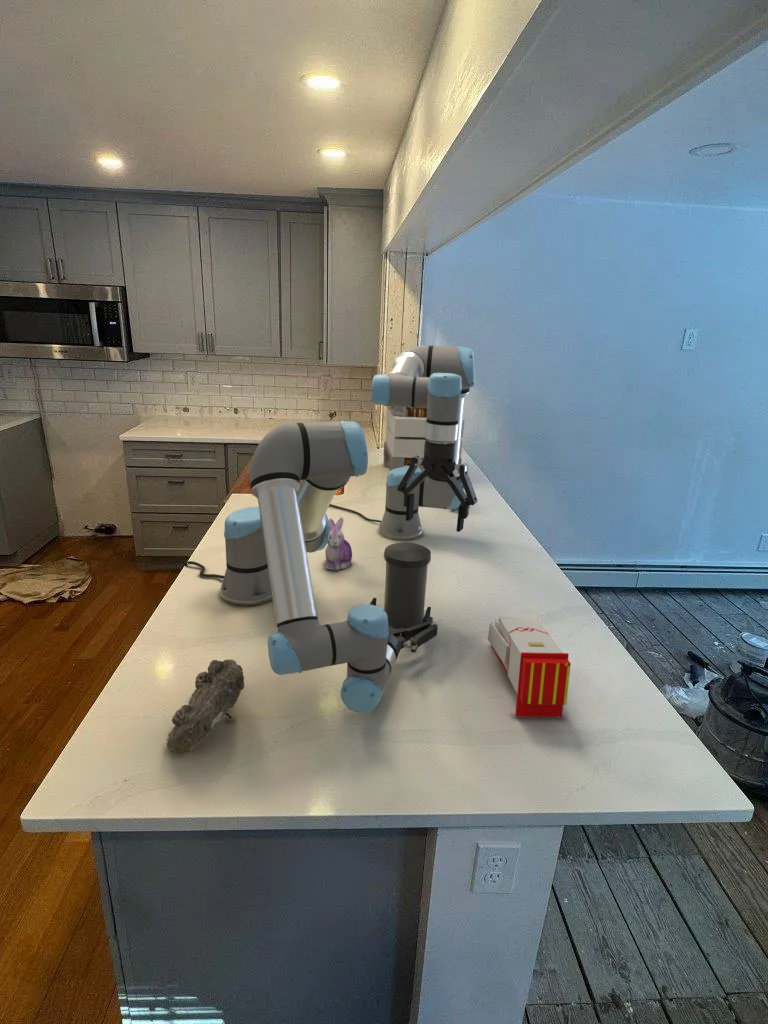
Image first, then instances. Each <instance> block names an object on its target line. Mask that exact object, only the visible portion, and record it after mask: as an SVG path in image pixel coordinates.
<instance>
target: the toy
mask: <svg viewBox="0 0 768 1024" xmlns="http://www.w3.org/2000/svg"><path fill="white" fill-rule="evenodd" d="M488 625H489V627H488V633H487V641H488V642H489V644H490V646H491V647H490V648H491V649H492V650H493V652H494V654H495V656H496V658H497V659H498V660H499V662H500V664H501V666H502V668H503V669H504V671H505V673H506V674H507V676H508V678H509V680H510V682H511V685H512V686H513V689H514V690H515V693H516V704H515V717H516V718H517V717H518V718H519V717H520V718H521V717H522V718H563V710H564V705H567V701H568V692H569V685H570V684H569V683H570V676H571V675H570V674H571V666H572V664H571V661H570V660H569V655H570V654H569V653H568V652H563V651H562V649H561V648H560V647H559V646H558V644H557V643H556V642H555V640H554V639H553V638H552V636H551V635H550V634H549V632H548V631H547V629H546V628H545V627H544V626H543V624H542V622H541V621H540V620H539V619H538V618H537V616H498V618H496V619H494V623H493V622H489V624H488Z"/></svg>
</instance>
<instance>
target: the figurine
mask: <svg viewBox="0 0 768 1024" xmlns="http://www.w3.org/2000/svg"><path fill="white" fill-rule="evenodd" d="M328 521H329V529H330V531H329V535H328V537H329V539H328V543H327V545H326V547H325V562H324V564H325V568H326V569H327V570H330V571H338V570H344V569H346V568H348V567H350V565H352V559H353V550H352V546H351V544H350V542H349V541H347V539H345V535H344V533H343V530H342V528H343V525H344V517H340V518H339V519H338V520H337V521H336V523H335V521H334V519H333V518H332V517H330V518H328Z"/></svg>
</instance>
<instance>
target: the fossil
mask: <svg viewBox="0 0 768 1024" xmlns="http://www.w3.org/2000/svg"><path fill="white" fill-rule="evenodd" d="M243 670H244V669H243V667H242V665H240V664H237V662H236V661H235V660H234V659H232V658H231V659H227V658H226V659H224V660H223V661H222V660H217V659H212V660H211V661H210V663H209V665H208V666H207V671H201V672H199V673H198V674H197V675H196V676H195V680H194V684H195V685H194V687H195V689H194V690H193V693H192V694H191V697H190V698H189V700H188V704H184V705H182V706H181V707H180V709H177V710H176V711H175V713H174V715H173V716H172V718H171V723H172V724H173V727H172V730H171V731H170V732H168V734H167V738H166V741H167V742H166V745H167V749H168V750H169V751H173V752H174V753H176V754H178V753H182V752H188V751H189V752H192V751H193V750H195V748H196V747H197V746H199V744H200V743H201V742H203V741H204V740H205V739H206V738H207V737H208V736H209V735H210V734H211V733H212V732H214V730H215V729H217V727H218V726H219V724H220V722H221V721H222V720H223V719H224V718H225V716H226V717H227V719H229V720H233V717H232V715H230V714H229V710H230V709H231V708H234V706H235V704H236V703H237V702H238V699H239V697H240V695H241V693H242V691H243V690H245V689H244V688H245V675H244V671H243Z"/></svg>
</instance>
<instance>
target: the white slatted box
mask: <svg viewBox="0 0 768 1024" xmlns="http://www.w3.org/2000/svg"><path fill="white" fill-rule="evenodd" d="M385 414H386V415H385V423H386V428H385V438H384V442H383V466H384V467H388V468H389V472H390V471H391V470H393V469H396V468H400V467H405V466H406V467H410V463H411V458H413V457H415V456H419V458H422V459H423V458H424V445H425V441H426V440H427V439H426V438H425V431H426V419H427V408H417V407H401V406H386V413H385ZM464 429H465V419H464V418H462V425H461V436H460V447H459V459H458V464H462V461H463V460H462V453H463V442H464V441H463V440H462V439H463V438H464V431H465V430H464ZM418 467H423V466H422V464H420V465H419V466H418Z"/></svg>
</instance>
